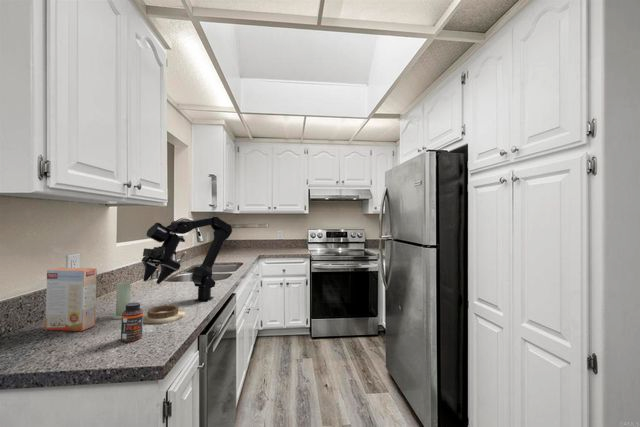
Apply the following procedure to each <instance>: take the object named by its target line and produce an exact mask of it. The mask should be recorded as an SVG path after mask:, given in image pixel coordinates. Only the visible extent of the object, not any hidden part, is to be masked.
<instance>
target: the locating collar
mask: <svg viewBox="0 0 640 427" xmlns="http://www.w3.org/2000/svg"><path fill="white" fill-rule="evenodd" d="M185 316H186V310H185V309H182V308H179V306H178V305H174V304H173V305H171V304H167V305H165V304H164V305H159V306H158V305H157V306H154V307H151V308H149V309H148V310H147V312H145V313H144V312H143V324H147V325H159V324H161V325H162V324H167V323H172V322H175V321H176V322H177V321H178V320H180V319H183V318H184V317H185Z"/></svg>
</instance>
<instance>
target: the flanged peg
mask: <svg viewBox="0 0 640 427" xmlns="http://www.w3.org/2000/svg"><path fill="white" fill-rule="evenodd" d="M115 292H116V294H115V296H116V297H115V298H116V300H115V301H116V302H115V313H112V315H111V319H113V320H122V313H123V312H124V311H125V310H126V304H128V303H131V282H129V281H124V282H118V283H116V289H115Z"/></svg>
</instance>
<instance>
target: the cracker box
mask: <svg viewBox="0 0 640 427" xmlns="http://www.w3.org/2000/svg"><path fill="white" fill-rule="evenodd" d="M97 273H98V272H97V268H96V267H95V268H91V267H90V268H89V267H58V268H53V269H51V268H50V269H47V270H46V296H45V297H46V298H45V324H44V328H45V329H44V330H46V331H48V330H49V331H68V332H70V331H71V332H82V331H83V332H84V331H85V330H88V329H90V328H93V327H96V313H97V312H96V309H97V308H96V305H97V303H96V302H97Z"/></svg>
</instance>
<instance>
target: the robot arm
mask: <svg viewBox="0 0 640 427" xmlns="http://www.w3.org/2000/svg"><path fill="white" fill-rule="evenodd" d="M209 226H210V227H211V229H212V230H213V240H212V242H211V243H210V246H209V249H208V251H207V253H206V255H205V257H204V259H203V261H202V264H201V265H200V266H195V267H194V271H192V274H191V275H192V276H191V280H192V282H193V284H194V286H195V287H196V288H197V287H198V288H197V289H198V290H197V298H195V299H194V301H197V302H209V301H211V300H212V298H213V299H214V296H212V288H215V285H216V281H215V280H214V279H213V278H212V276H213V266H214V264H215V262H216V259H217V257H218V256H219V253H220V251H221V249H222V246H223V244H224V243H225V241H226V240H228V239H229V237H230V236H231V235H232V232H233V228H232V226H231V224H229V223H227V222H226V221H224V220H222V219H220V218H219V216H217V215H216V216H215V215H209V216H207V217H201V218H196V219H192V220H173V221H171V223H170V224H169V225H167V226H165V225H162V223H160V222H155V223H154V224H153V225H152V226H150V227H149V228H148V230H147V231H146V237H147V238H149V239H151V240H154V241H155V242H157V243H162V244H161V246H154V247H153V248H143V254H142V259H141V262H142V264H143V265H144V274H143V279H142V280H143V282H148V280H149V279H150V278H151V277H152V275H154V273H155V272H156V271H157V270H158V267H159V266H160V273H159V274H158V277H157V280H156V285H160V284H161V283H162V282H163V281H165V280H166V279H167V278H168V277H169V276H171V275H172V274H174V273H176V272H177V271H179V270H180V268H181V262H179V261H177V260H175V259H172V258H173V255H175V256H176V254H177V253H178V252H177V248H178V246H179V244H180V242H181V243H186V239H185V237H184V235H186V234H187V233H189V232H191V231H192V230H194V229H199V228H203V227H209ZM178 234H180V235H178ZM210 299H211V300H210ZM208 300H209V301H208Z"/></svg>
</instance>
